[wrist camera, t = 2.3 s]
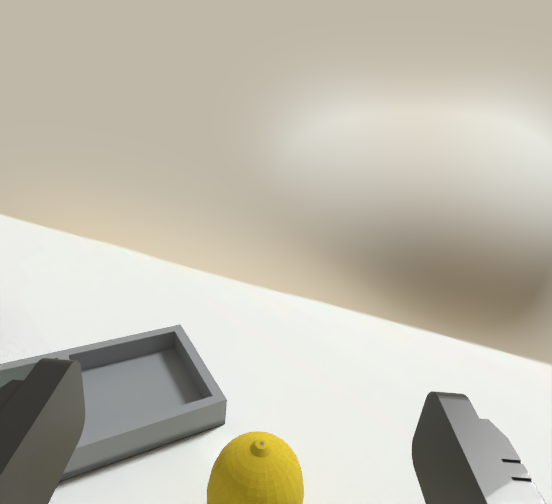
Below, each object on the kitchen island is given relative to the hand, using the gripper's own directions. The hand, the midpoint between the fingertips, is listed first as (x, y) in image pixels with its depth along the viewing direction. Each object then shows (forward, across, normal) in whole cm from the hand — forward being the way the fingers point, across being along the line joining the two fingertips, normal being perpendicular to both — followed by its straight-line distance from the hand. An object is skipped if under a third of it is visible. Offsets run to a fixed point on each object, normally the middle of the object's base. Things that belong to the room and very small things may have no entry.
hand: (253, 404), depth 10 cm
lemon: (+10, -1, +20) cm, 22 cm away
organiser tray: (+18, +13, +20) cm, 30 cm away
